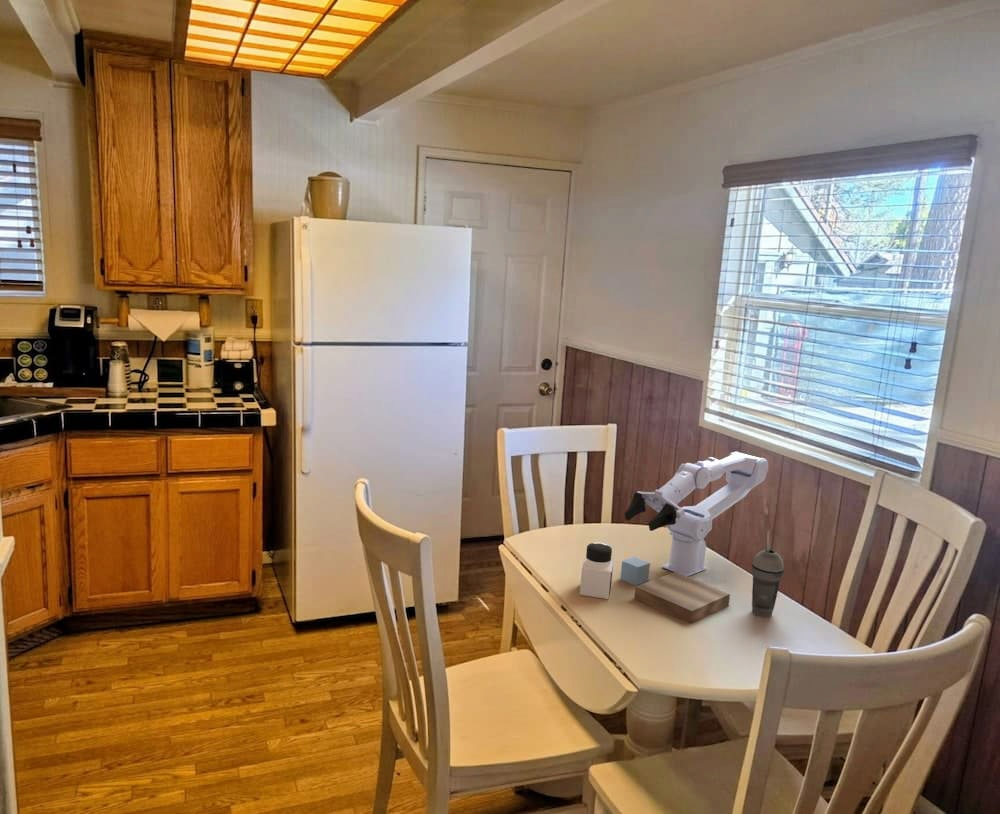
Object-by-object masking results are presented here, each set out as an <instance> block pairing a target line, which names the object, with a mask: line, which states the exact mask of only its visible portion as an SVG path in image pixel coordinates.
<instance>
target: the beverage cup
mask: <svg viewBox="0 0 1000 814" xmlns="http://www.w3.org/2000/svg"><path fill="white" fill-rule="evenodd" d="M770 532H771V531H770V530H767V534H766V549H763V550H760V551H759V552H758V553H757V554H756V555H755V556H754V558H753V560H752V562H751V566H752V567H751V570H752V589H751V590H752V593H751V595H752V596H751V597H752V598H751V612H752V614H753V615H755V616H757V617H760V618H763V619H764V618H772V617H773V612H774V609H775V606H776V605H775V604H776V602H777V598H778V597H777V596H778V592H779V589H780V584H781V579H782V578H783V576H784V572H785V565H784V561H783V558H782V556H781V555H780V554H779V553H778V552H776V551H775V550H772V549H770V537H771V536H770Z"/></svg>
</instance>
